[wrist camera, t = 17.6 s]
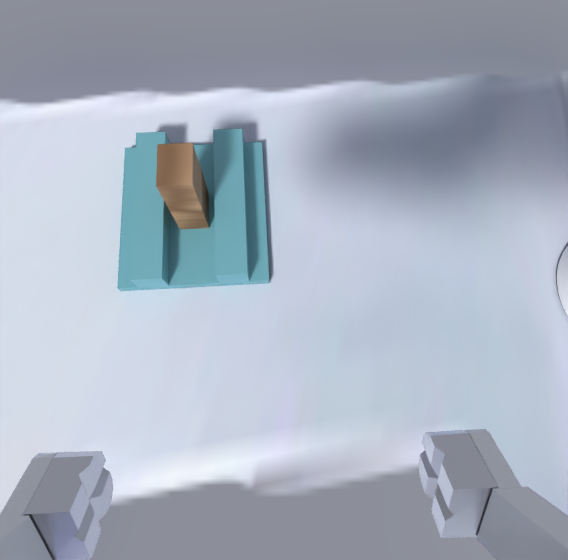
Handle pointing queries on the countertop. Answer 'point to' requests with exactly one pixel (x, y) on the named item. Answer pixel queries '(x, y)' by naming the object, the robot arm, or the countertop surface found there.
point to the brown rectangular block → (182, 185)
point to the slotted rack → (195, 242)
